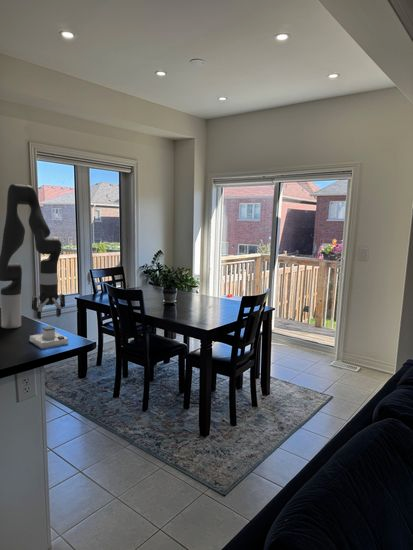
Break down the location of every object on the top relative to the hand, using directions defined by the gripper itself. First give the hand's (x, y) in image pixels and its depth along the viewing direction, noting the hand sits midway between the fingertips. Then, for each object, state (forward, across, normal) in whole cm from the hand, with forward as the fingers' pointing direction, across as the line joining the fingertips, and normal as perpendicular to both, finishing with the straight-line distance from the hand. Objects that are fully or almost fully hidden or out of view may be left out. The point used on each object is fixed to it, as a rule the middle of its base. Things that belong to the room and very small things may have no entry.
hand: (48, 317), depth 173 cm
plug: (+12, 0, 0) cm, 12 cm away
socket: (+11, 0, 0) cm, 11 cm away
